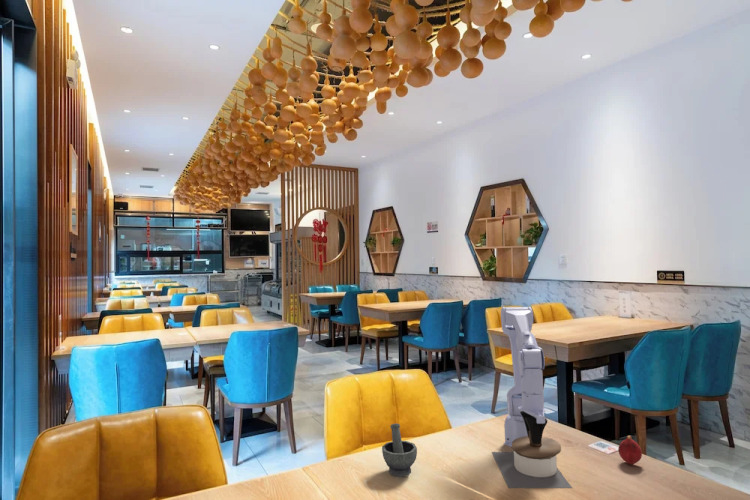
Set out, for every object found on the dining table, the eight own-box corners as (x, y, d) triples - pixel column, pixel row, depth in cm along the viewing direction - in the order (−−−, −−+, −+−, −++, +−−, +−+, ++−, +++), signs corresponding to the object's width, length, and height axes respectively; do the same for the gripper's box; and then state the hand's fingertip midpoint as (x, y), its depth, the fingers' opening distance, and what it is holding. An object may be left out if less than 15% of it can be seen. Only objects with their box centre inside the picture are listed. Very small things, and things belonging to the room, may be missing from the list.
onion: (645, 470, 123) (644, 440, 124) (623, 468, 124) (621, 439, 125) (638, 461, 129) (636, 432, 129) (616, 459, 130) (614, 431, 130)
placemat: (508, 489, 115) (508, 487, 115) (491, 453, 137) (491, 451, 137) (572, 489, 114) (572, 487, 114) (544, 453, 136) (544, 451, 136)
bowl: (506, 467, 126) (506, 450, 126) (528, 456, 133) (528, 439, 133) (543, 481, 118) (542, 463, 118) (564, 468, 125) (563, 451, 125)
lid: (502, 447, 128) (500, 432, 128) (531, 435, 135) (530, 420, 135) (541, 462, 117) (539, 445, 117) (571, 447, 124) (569, 431, 124)
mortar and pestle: (420, 478, 122) (419, 433, 123) (387, 482, 121) (385, 436, 121) (410, 460, 134) (409, 419, 134) (379, 463, 132) (378, 422, 132)
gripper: (511, 384, 134) (513, 431, 133) (524, 399, 119) (527, 451, 119) (535, 384, 133) (537, 430, 133) (552, 399, 119) (554, 451, 118)
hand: (534, 440), depth 126 cm, fingers closed on lid, 3 cm apart
